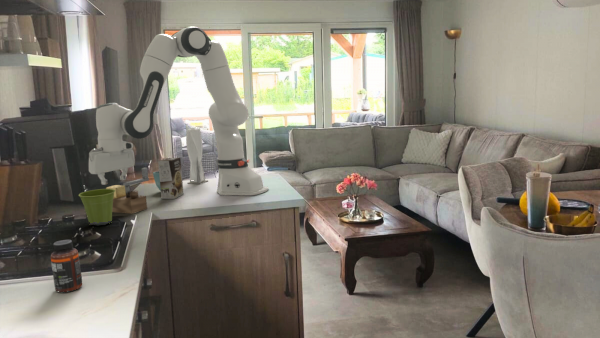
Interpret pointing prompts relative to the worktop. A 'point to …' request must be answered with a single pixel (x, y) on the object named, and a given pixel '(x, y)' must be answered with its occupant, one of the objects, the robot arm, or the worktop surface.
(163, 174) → the coffee box
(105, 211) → the plant pot
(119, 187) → the pale yellow block
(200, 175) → the skyscraper
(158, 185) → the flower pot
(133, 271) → the worktop surface
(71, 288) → the supplement bottle
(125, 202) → the plane body
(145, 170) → the cam lever
